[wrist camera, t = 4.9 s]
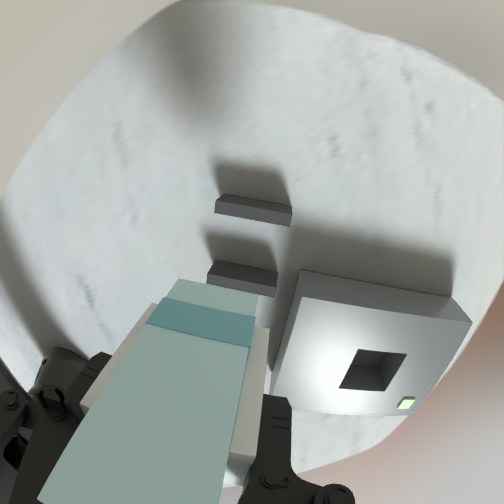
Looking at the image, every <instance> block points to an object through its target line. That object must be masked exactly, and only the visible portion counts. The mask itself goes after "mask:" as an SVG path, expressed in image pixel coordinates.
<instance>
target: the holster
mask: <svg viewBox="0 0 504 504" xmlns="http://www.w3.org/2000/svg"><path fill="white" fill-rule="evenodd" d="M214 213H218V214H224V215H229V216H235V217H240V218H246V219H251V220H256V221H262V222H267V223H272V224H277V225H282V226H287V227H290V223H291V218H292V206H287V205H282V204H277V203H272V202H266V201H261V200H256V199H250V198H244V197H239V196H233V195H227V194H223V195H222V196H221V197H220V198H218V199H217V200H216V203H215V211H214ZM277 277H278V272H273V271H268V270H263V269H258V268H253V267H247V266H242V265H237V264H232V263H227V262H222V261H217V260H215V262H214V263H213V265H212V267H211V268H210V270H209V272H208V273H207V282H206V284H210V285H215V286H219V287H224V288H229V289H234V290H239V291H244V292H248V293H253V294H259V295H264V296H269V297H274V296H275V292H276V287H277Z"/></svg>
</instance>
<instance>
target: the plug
mask: <svg viewBox="0 0 504 504" xmlns="http://www.w3.org/2000/svg"><path fill="white" fill-rule="evenodd" d="M257 299H258V294H253V293H248V292H242V291H237V290H232V289H227V288H222V287H217V286H212V285H208V284H203V283H198V282H193V281H189V280H184V279H180V278H179V279H178V281H177V282H176V283H175V285H174V286H173V287H172V289H171V290H170V291H169V293H168V294H167V296H166V297H163V298H162V300H161V301H160V303H159V304H158V305H157V307H156V308H155V309H154V311H153V312H152V314H151V315H150V316H149V318H148V319H147V321H146V325H145V327H144V328H143V329H142V331H141V332H140V334H139V335H138V337H137V338H136V339H135V341H134V342H133V344H132V345H131V347H130V348H129V350H128V351H127V353H126V354H125V356H124V357H123V359H122V360H121V361H120V363H119V364H118V366H117V367H116V369H115V370H114V372H113V373H112V375H111V376H110V378H109V379H108V381H107V383H106V384H105V386H104V387H103V389H102V390H101V392H100V393H99V395H98V396H97V398H96V400H95V401H94V403H93V404H92V406H91V407H90V409H89V411H88V412H87V414H86V415H85V417H84V418H83V420H82V422H81V423H80V425H79V427H78V428H77V430H76V431H75V433H74V435H73V436H72V438H71V440H70V441H69V443H68V445H67V446H66V448H65V450H64V451H63V453H62V455H61V457H60V458H59V460H58V462H57V463H56V465H55V467H54V469H53V470H52V472H51V474H50V476H49V477H48V479H47V481H46V483H45V485H44V486H43V488H42V490H41V492H40V494H39V496H38V497H37V499H38V500H39V501H40V502H42V503H43V504H219V500H220V495H221V490H222V485H223V480H224V475H225V470H226V465H227V460H228V455H229V450H230V445H231V440H232V435H233V430H234V425H235V419H236V414H237V409H238V404H239V398H240V393H241V388H242V382H243V377H244V372H245V367H246V362H247V360H248V356H249V351H250V347H251V341H252V335H253V329H254V324H255V318H256V317H254V316H255V311H256V305H257Z"/></svg>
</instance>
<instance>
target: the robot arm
mask: <svg viewBox="0 0 504 504" xmlns="http://www.w3.org/2000/svg"><path fill="white" fill-rule="evenodd" d="M157 305H158V304H154V303H151V305H150V306H149V307H148V309H147V310H146V311H145V313H144V314H143V315H142V317H141V318H140V319H139V321H138V322H137V323H136V325H135V326H134V327H133V329H132V330H131V331H130V333H129V334H128V335H127V337H126V338H125V339H124V341H123V342H122V343H121V345H120V346H119V348H118V349H117V350H116V352H115V353H114V354H113V356H112V355H109V354H106V353H104V352H100V353H98V354H97V355H95V356H93V357H92V358H91V359H90V360H89V361H88V362H87V361H86V360H84V359H83V358H81V357H80V356H78V355H77V354H75V353H73V352H71V351H69V350H66V349H62V348H54V349H52V350H51V351H50V352H49V353H48V354H47V355H46V356H45V357H44V359H43V361H42V364H41V366H40V369H39V371H38V374H37V377H36V379H35V382H34V385H33V387H32V388H31V389H30V390H29V392H28V393H27V392H26V391H25V390H24V388H23V387H22V386H21V385H20V383H19V382H18V381H17V380H16V378H15V377H14V376H13V374H12V373H11V371H10V370H9V369H8V367H7V366H6V364H5V363H4V362H3V360H2V359H1V357H0V504H43V503H42V502H40V501H39V500H38V499H37V497H38V496H39V494H40V492H41V490H42V488H43V486H44V485H45V483H46V481H47V479H48V477H49V476H50V474H51V472H52V470H53V469H54V467H55V465H56V463H57V462H58V460H59V458H60V457H61V455H62V453H63V451H64V450H65V448H66V446H67V445H68V443H69V441H70V440H71V438H72V436H73V435H74V433H75V431H76V430H77V428H78V427H79V425H80V423H81V422H82V420H83V418H84V417H85V415H86V414H87V412H88V411H89V409H90V407H91V406H92V404H93V403H94V401H95V400H96V398H97V396H98V395H99V393H100V392H101V390H102V389H103V387H104V386H105V384H106V383H107V381H108V379H109V378H110V376H111V375H112V373H113V372H114V370H115V369H116V367H117V366H118V364H119V363H120V361H121V360H122V359H123V357H124V356H125V354H126V353H127V351H128V350H129V348H130V347H131V345H132V344H133V342H134V341H135V339H136V338H137V337H138V335H139V334H140V332H141V331H142V329H143V328H144V327H145V325H146V321H147V319H148V318H149V316H150V315H151V314H152V312H153V311H154V309H155V308H156V307H157ZM269 332H270V328H264V327H259V326H254V329H253V335H252V341H251V347H250V351H249V356H248V360H247V362H246V367H245V372H244V377H243V382H242V388H241V393H240V398H239V404H238V409H237V414H236V419H235V425H234V430H233V435H232V440H231V445H230V450H229V455H228V460H227V465H226V470H225V475H224V480H223V483H229V484H234V485H241V486H243V491H242V495H241V497H240V499H239V501H238V503H237V504H355V498H354V496H353V493H352V492H351V491H350V489H349V488H347V487H345V486H343V485H341V484H329V485H326V486H324V487H322V486H319V485H316V484H313V483H310V482H307V481H305V480H302V479H301V478H299V477H298V476H297V475H296V474H295V473H294V471H293V469H292V467H291V426H292V421H291V419H292V407H291V405H290V403H289V401H288V399H287V397H281V396H274V395H268V394H263V391H264V382H265V373H266V363H267V353H268V343H269Z"/></svg>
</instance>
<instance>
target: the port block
mask: <svg viewBox="0 0 504 504" xmlns="http://www.w3.org/2000/svg"><path fill="white" fill-rule="evenodd" d="M472 323H473V322H472V321H471V320H470V318H469V317H468V316H467V315H466V313H465V312H464V311H463V310H462V309H461V307H460V306H459V305H458V304H457V303H456V301H455V300H454V299H453V298H449V297H444V296H438V295H433V294H427V293H422V292H416V291H411V290H405V289H400V288H394V287H389V286H383V285H378V284H373V283H367V282H362V281H357V280H351V279H346V278H341V277H335V276H330V275H325V274H320V273H314V272H309V271H304V270H300V273H299V277H298V281H297V285H296V289H295V293H294V296H293V300H292V304H291V308H290V311H289V315H288V319H287V322H286V326H285V330H284V333H283V337H282V340H281V344H280V347H279V351H278V354H277V357H276V361H275V364H274V367H273V371H272V374H271V383H270V392H269V395H274V396H281V397H287V399H288V401H289V403H290V405H291V407H292V409H293V410H301V411H310V412H320V413H331V414H346V415H372V416H401V415H413V414H414V412H415V411H416V410H417V409H418V407H419V406H420V405H421V404H422V402H423V401H424V400H425V398H426V397H427V396H428V394H429V393H430V391H431V390H432V389H433V387H434V386H435V384H436V383H437V381H438V380H439V379H440V377H441V376H442V374H443V373H444V371H445V370H446V368H447V366H448V365H449V363H450V362H451V360H452V359H453V357H454V355H455V354H456V352H457V350H458V349H459V347H460V345H461V343H462V342H463V340H464V338H465V336H466V335H467V333H468V331H469V329H470V327H471V325H472Z"/></svg>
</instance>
